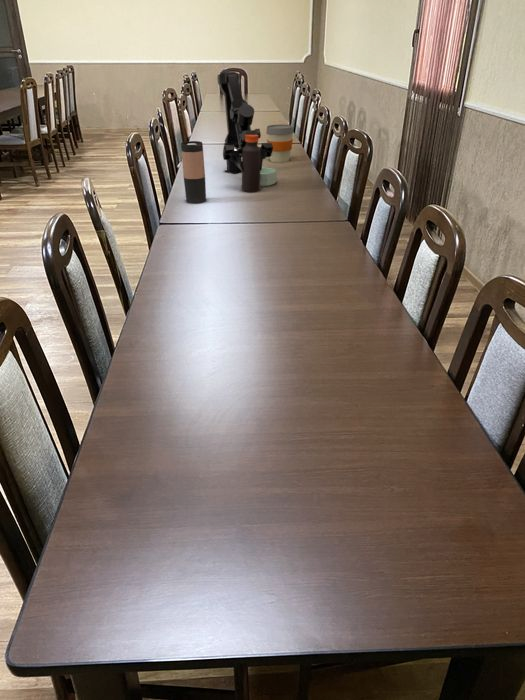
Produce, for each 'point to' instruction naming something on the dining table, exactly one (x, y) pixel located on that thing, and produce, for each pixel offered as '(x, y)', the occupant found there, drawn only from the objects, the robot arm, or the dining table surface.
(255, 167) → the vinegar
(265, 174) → the basin
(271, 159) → the reusable coffee cup
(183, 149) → the travel mug
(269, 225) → the dining table surface
